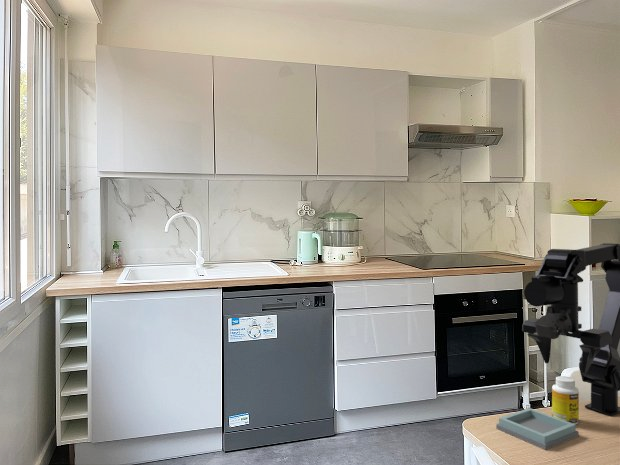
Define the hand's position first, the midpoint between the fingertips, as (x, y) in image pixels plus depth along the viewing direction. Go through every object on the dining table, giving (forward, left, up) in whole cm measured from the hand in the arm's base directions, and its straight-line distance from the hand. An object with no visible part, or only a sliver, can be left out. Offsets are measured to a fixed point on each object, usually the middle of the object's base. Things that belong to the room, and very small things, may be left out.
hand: (565, 367), depth 111 cm
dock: (+11, 0, -13) cm, 17 cm away
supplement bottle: (0, 0, -13) cm, 13 cm away
